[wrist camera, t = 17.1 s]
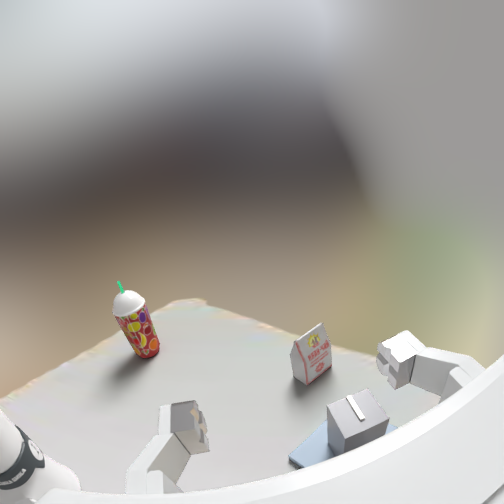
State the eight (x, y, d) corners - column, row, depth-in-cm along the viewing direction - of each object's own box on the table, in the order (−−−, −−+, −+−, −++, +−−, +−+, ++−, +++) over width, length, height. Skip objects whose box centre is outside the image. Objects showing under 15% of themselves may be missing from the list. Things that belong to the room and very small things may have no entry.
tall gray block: (379, 454, 30) (389, 416, 26) (341, 470, 29) (345, 437, 26) (362, 427, 35) (368, 386, 32) (327, 441, 35) (326, 403, 31)
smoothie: (133, 347, 69) (103, 280, 62) (162, 337, 71) (135, 269, 64) (135, 365, 62) (100, 294, 54) (166, 355, 64) (135, 282, 57)
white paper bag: (293, 376, 51) (287, 337, 48) (318, 358, 55) (314, 318, 51) (306, 385, 48) (301, 346, 45) (331, 365, 52) (329, 325, 48)
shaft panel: (363, 504, 24) (371, 488, 21) (289, 458, 34) (283, 435, 32) (413, 438, 31) (423, 411, 29) (342, 406, 42) (343, 378, 39)
